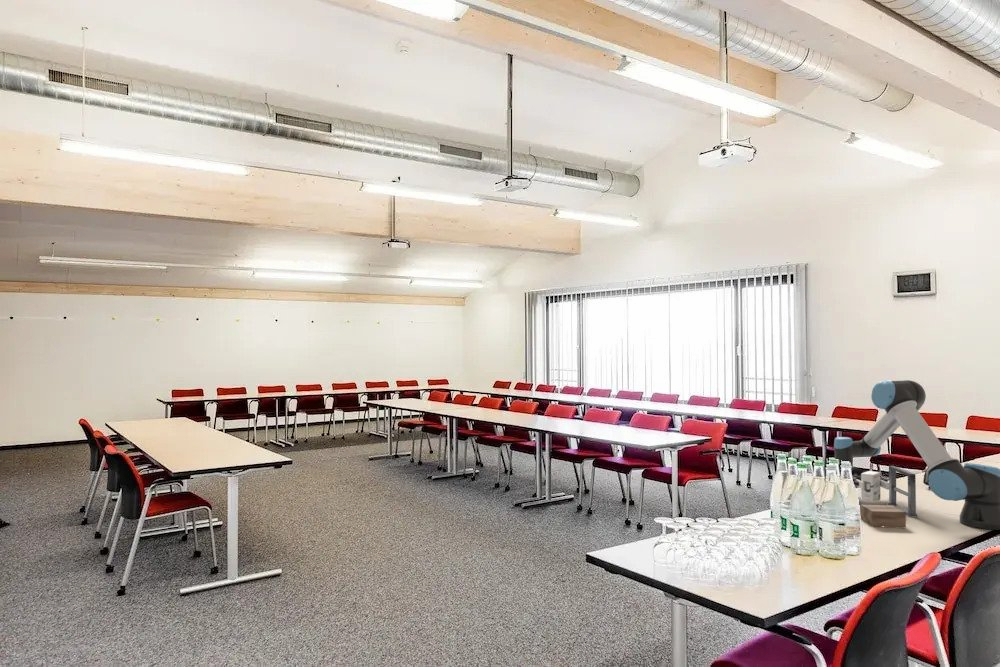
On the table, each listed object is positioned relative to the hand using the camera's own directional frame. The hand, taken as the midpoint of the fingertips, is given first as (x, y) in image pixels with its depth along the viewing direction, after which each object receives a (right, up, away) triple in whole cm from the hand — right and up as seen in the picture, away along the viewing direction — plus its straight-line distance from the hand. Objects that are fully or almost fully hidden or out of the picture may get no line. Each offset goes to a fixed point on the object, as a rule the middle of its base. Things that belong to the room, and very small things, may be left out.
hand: (875, 486), depth 264 cm
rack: (+13, -11, +3) cm, 17 cm away
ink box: (+1, -7, +4) cm, 9 cm away
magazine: (+63, -12, +51) cm, 82 cm away
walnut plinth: (-7, -11, -16) cm, 21 cm away
